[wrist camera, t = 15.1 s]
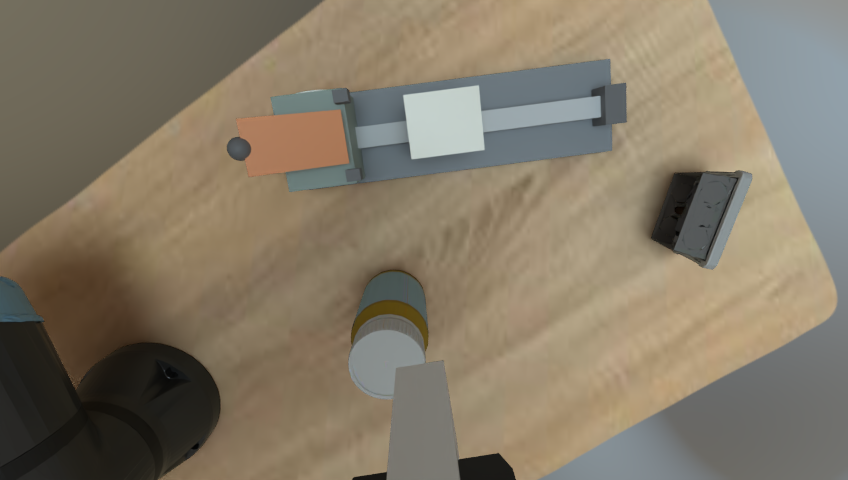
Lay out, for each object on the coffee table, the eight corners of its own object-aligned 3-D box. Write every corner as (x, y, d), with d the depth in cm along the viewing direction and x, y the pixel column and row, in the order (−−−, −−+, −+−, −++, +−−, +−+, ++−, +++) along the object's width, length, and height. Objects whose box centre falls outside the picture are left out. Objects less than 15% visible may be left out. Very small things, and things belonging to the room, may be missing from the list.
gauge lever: (346, 163, 36) (234, 178, 33) (337, 111, 35) (221, 121, 32) (350, 163, 34) (233, 179, 31) (341, 108, 33) (219, 119, 30)
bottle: (375, 259, 46) (359, 312, 31) (433, 280, 47) (444, 341, 32) (355, 314, 47) (330, 388, 33) (412, 333, 48) (412, 415, 33)
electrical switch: (678, 253, 47) (733, 276, 38) (634, 242, 47) (678, 262, 38) (708, 172, 45) (774, 176, 36) (662, 161, 45) (716, 162, 36)
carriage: (411, 157, 42) (411, 159, 33) (404, 106, 41) (403, 95, 32) (469, 149, 42) (484, 150, 33) (464, 98, 41) (478, 85, 32)
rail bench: (312, 188, 44) (285, 199, 35) (295, 101, 42) (262, 88, 33) (606, 150, 44) (659, 151, 35) (604, 61, 42) (660, 36, 33)
